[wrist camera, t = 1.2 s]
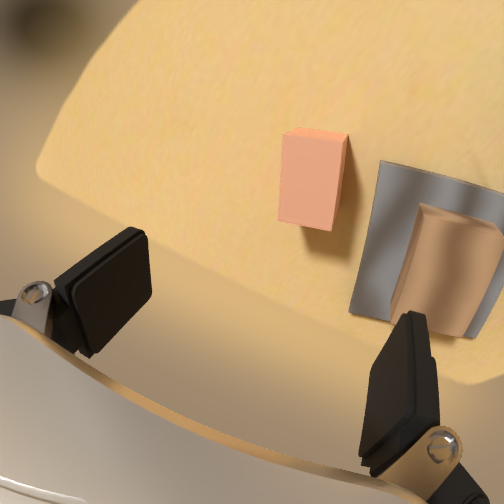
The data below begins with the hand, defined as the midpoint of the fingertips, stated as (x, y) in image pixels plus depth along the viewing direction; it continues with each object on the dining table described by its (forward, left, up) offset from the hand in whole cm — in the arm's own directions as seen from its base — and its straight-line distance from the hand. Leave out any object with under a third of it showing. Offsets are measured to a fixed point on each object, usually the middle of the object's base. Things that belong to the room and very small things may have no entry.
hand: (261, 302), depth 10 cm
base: (-13, +8, -23) cm, 28 cm away
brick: (+2, +1, -23) cm, 23 cm away
